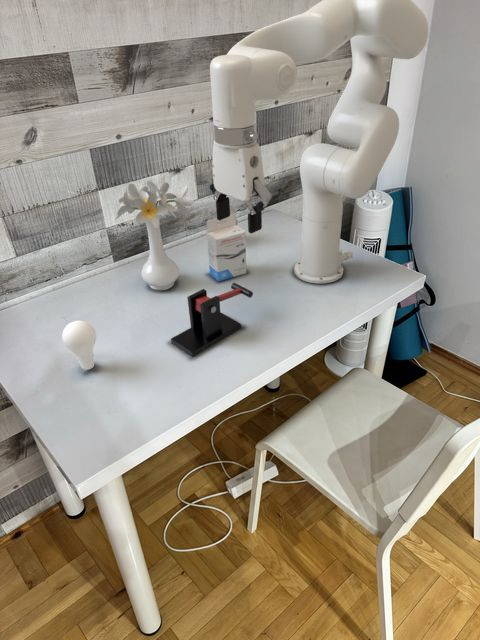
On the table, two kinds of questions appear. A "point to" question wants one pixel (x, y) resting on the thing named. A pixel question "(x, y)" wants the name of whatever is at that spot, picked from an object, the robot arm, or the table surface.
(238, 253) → the ink box
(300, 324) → the table surface
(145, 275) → the flower vase
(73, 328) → the lightbulb
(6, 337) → the table surface
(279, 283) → the table surface
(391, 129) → the robot arm
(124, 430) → the table surface
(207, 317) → the black lever base
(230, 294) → the red lever handle
